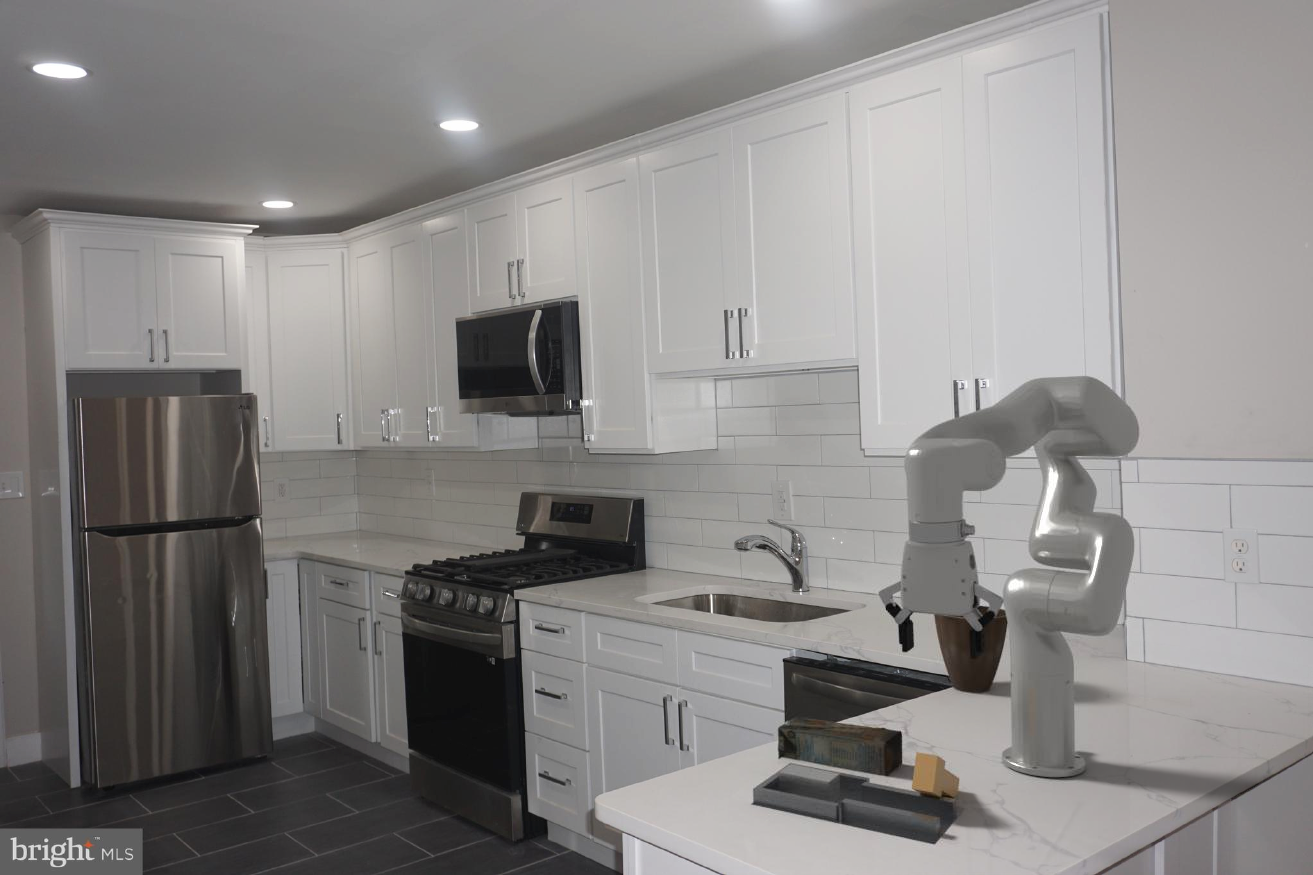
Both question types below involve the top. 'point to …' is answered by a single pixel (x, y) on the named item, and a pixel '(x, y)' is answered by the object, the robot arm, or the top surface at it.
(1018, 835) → the top surface
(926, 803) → the slot board
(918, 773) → the tan stepped beam
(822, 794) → the grey cube
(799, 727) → the beverage carton
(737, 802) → the top surface
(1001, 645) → the plant pot
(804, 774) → the chip
